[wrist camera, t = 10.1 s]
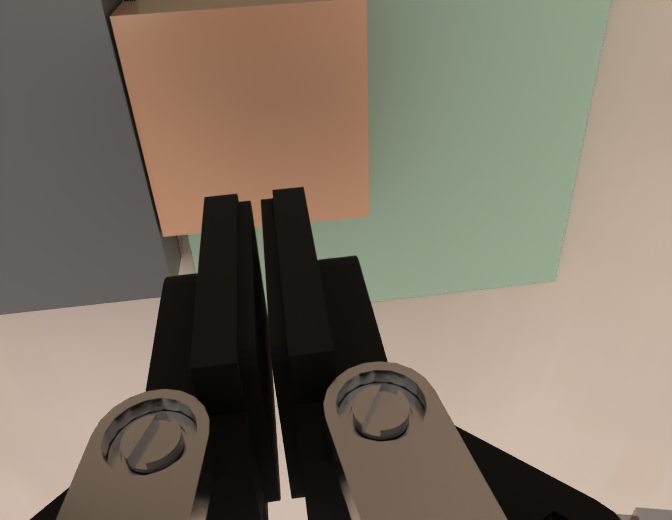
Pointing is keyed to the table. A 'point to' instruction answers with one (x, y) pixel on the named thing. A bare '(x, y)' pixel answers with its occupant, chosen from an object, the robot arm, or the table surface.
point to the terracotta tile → (248, 102)
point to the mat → (467, 143)
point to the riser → (72, 165)
